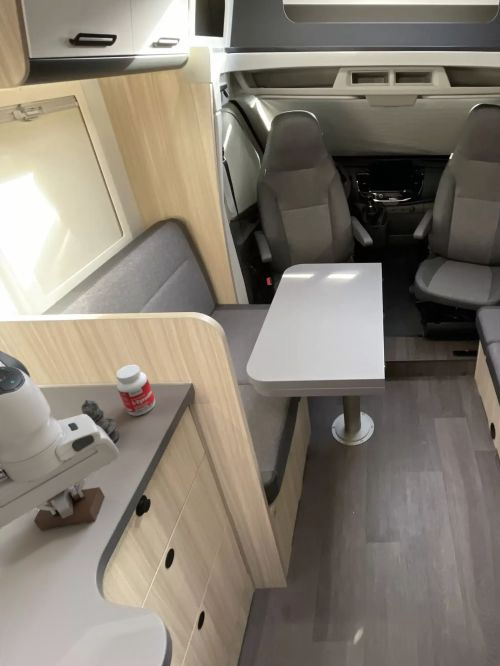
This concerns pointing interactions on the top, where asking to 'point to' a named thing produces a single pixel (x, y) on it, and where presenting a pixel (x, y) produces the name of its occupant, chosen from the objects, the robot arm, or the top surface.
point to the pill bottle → (135, 390)
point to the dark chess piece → (100, 419)
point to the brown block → (82, 511)
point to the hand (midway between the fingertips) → (68, 503)
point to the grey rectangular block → (64, 503)
